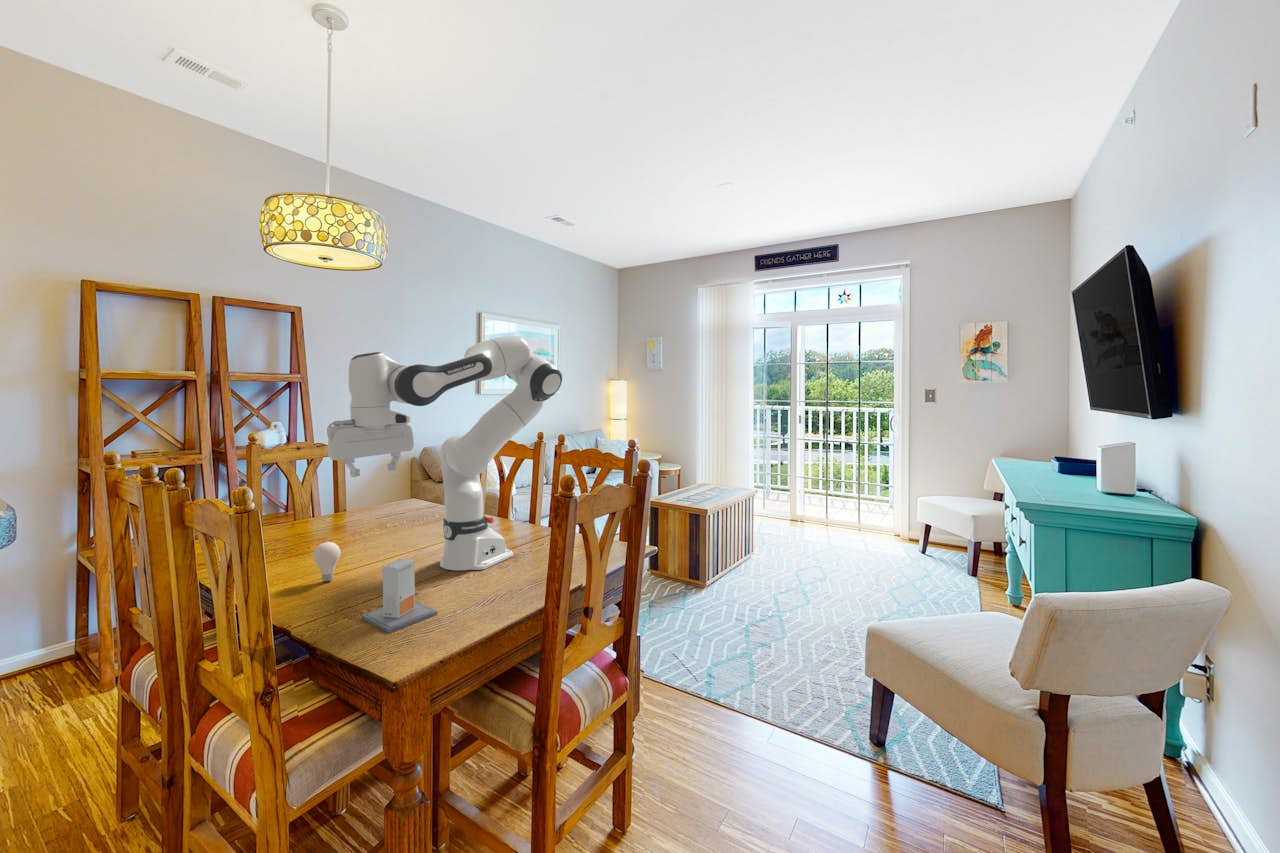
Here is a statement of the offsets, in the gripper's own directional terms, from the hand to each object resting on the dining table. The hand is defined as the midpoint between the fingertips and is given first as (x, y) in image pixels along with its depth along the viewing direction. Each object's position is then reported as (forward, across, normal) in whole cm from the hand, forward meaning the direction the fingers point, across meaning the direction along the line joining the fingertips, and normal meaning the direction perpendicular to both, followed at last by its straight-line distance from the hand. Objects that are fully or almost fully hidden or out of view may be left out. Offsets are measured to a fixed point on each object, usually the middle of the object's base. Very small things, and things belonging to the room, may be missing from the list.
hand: (374, 473), depth 131 cm
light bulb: (+32, -3, +23) cm, 40 cm away
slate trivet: (+33, -3, -13) cm, 35 cm away
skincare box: (+32, -3, -13) cm, 35 cm away
